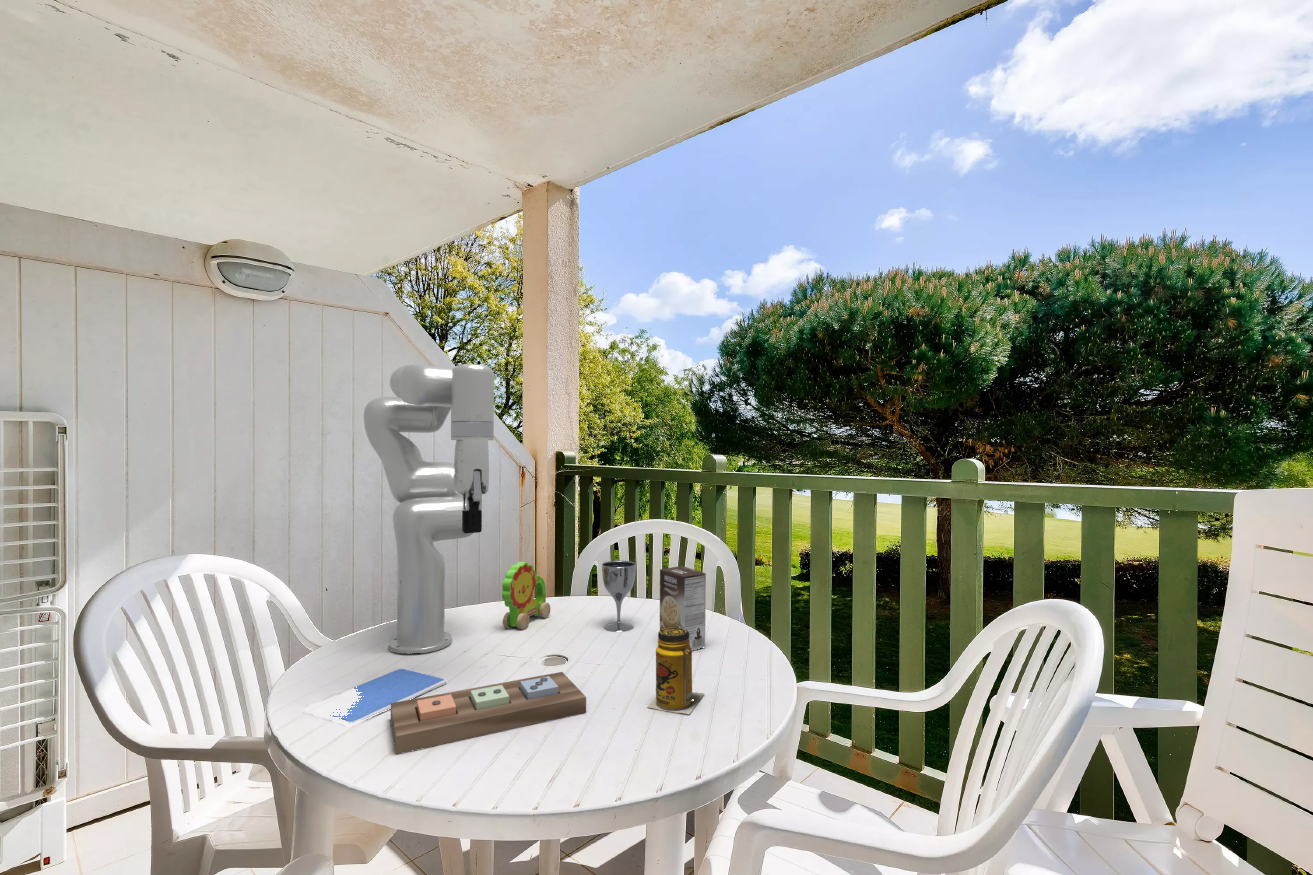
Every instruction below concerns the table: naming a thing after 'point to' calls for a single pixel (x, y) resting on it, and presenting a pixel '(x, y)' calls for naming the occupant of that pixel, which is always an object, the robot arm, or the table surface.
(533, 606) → the green wooden toy car
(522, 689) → the button three dots
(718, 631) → the table surface
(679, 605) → the coffee box
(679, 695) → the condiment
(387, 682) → the blue rectangular pad
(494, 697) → the button two dots
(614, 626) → the wine glass
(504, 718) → the button board
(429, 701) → the button one dot
